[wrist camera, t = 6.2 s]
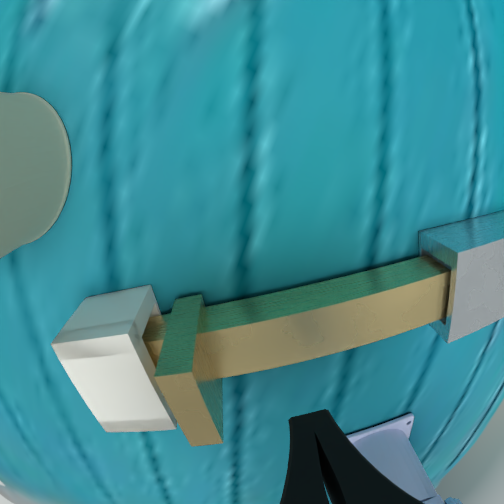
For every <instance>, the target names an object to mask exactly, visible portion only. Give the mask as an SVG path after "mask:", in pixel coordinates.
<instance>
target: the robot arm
mask: <svg viewBox="0 0 504 504" xmlns="http://www.w3.org/2000/svg"><path fill="white" fill-rule="evenodd" d="M413 421H414V415H413V414H412V413H410V414H407V415H405V416H402V417H400V418H397V419H394V420H392V421H389V422H386V423H383V424H381V425H378V426H375V427H372V428H369V429H366V430H363V431H360V432H357V433H353V434H350V435H347V436H345V434H344V433H343V432H342V430H341V429H340V428H339V426H338V425H337V423H336V422H335V420H334V419H333V417H332V416H331V414H330V412H329V410H326V409H324V410H320V411H316V412H312V413H308V414H304V415H300V416H295V417H291V418H290V419H289V426H290V452H289V461H288V469H287V475H286V480H285V485H284V489H283V494H282V498H281V501H280V504H329V501H328V498H327V495H326V491H325V488H324V484H325V487H326V489H327V492H328V495H329V497H330V500H331V502H332V504H444V502H445V504H462V503H461V501H460V500H459V499H455V498H454V499H453V498H451V497H449V498H447V499H446V500H445V501H444V502H443V500H442V498H441V496H440V495H437V493H436V491H435V489H434V487H433V485H432V483H431V481H430V479H429V477H428V475H427V474H426V472H425V470H424V468H423V466H422V464H421V462H420V460H419V458H418V457H417V455H416V453H415V451H414V449H413V447H412V445H411V444H410V442H409V440H408V439H409V436H410V432H411V428H412V424H413ZM323 482H324V483H323Z"/></svg>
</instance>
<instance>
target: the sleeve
mask: <svg viewBox="0 0 504 504" xmlns="http://www.w3.org/2000/svg"><path fill="white" fill-rule="evenodd" d="M425 255H428V256H430V257H432V258H433V259H435V260H436V261H438V262H439V263H441V264H442V265H444V266H445V267H447V268H448V269H450V270H451V281H450V292H449V302H448V310H447V317H444V318H442V319H439V320H437V321H434V322H431V323H428V324H429V325H430V326H431V327H432V328H433V329H434V330H435V331H436V332H437V333H438V334H439V335H440V336H441V337H442V338H443V339H444V340H445V341H446V343H447V344H448V343H450V342H452V341H455V340H457V339H459V338H462V337H464V336H466V335H468V334H470V333H472V332H475V331H477V330H479V329H481V328H483V327H485V326H487V325H489V324H491V323H493V322H495V321H497V320H499V319H501V318H503V317H504V211H500V212H496V213H492V214H488V215H484V216H480V217H476V218H472V219H467V220H463V221H459V222H455V223H451V224H447V225H443V226H438V227H434V228H430V229H426V230H422V231H419V257H421V256H425Z"/></svg>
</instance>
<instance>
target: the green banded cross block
mask: <svg viewBox="0 0 504 504" xmlns="http://www.w3.org/2000/svg"><path fill="white" fill-rule="evenodd" d="M450 281H451V270H450V269H448V268H447V267H445V266H444V265H442V264H441V263H439V262H438V261H436V260H435V259H433V258H432V257H430V256H428V255H425V256H421V257H418V258H414V259H410V260H406V261H403V262H399V263H395V264H391V265H388V266H384V267H380V268H376V269H372V270H368V271H364V272H360V273H356V274H352V275H348V276H344V277H340V278H336V279H332V280H327V281H323V282H319V283H315V284H310V285H306V286H302V287H297V288H293V289H288V290H284V291H279V292H275V293H270V294H266V295H261V296H256V297H252V298H247V299H242V300H237V301H232V302H228V303H223V304H218V305H213V306H208V307H205V304H204V301H203V297H202V294H200V295H195V296H190V297H185V298H180V299H175V302H174V305H173V309H172V312H171V314H165V315H160V316H154V317H149V320H148V322H147V325H146V327H145V330H144V333H143V335H142V339H143V341H144V344H145V346H146V348H147V350H148V353H149V355H150V357H151V359H152V362H153V364H154V366H155V368H156V371H155V375H154V378H155V380H156V382H157V384H158V386H159V388H160V390H161V392H162V394H163V396H164V398H165V400H166V402H167V404H168V405H169V407H170V409H171V411H172V413H173V415H174V417H175V418H176V420H177V422H178V424H179V426H180V427H181V429H182V431H183V433H184V434H185V436H186V438H187V439H188V441H189V443H190V445H191V446H202V445H211V444H219V443H223V409H222V378H224V377H230V376H236V375H241V374H247V373H252V372H257V371H262V370H267V369H271V368H276V367H281V366H285V365H290V364H294V363H298V362H302V361H306V360H311V359H315V358H319V357H322V356H326V355H330V354H334V353H337V352H341V351H345V350H348V349H352V348H355V347H359V346H362V345H365V344H369V343H372V342H375V341H378V340H382V339H385V338H388V337H391V336H394V335H397V334H400V333H403V332H406V331H409V330H412V329H415V328H417V327H420V326H423V325H426V324H428V323H431V322H434V321H437V320H439V319H442V318H444V317H447V310H448V302H449V292H450Z"/></svg>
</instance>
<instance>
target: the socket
mask: <svg viewBox="0 0 504 504" xmlns="http://www.w3.org/2000/svg"><path fill="white" fill-rule="evenodd" d="M160 315H161V312H160V309H159V306H158V304H157V301H156V298H155V295H154V292H153V289H152V287H151V285H146V286H141V287H136V288H131V289H126V290H121V291H116V292H111V293H106V294H101V295H96V296H91V297H86V298H85V299H84V301H83V302H82V303H81V304H80V306H79V307H78V308H77V310H76V311H75V312H74V313H73V315H72V316H71V317H70V319H69V320H68V321H67V323H66V324H65V325H64V327H63V328H62V329H61V331H60V332H59V333H58V335H57V336H56V337H55V339H54V340H53V342H52V343H51V345H52V347H53V349H54V351H55V353H56V355H57V356H58V358H59V360H60V362H61V364H62V365H63V367H64V369H65V370H66V372H67V374H68V376H69V377H70V379H71V381H72V382H73V384H74V385H75V387H76V389H77V390H78V392H79V393H80V395H81V396H82V398H83V399H84V401H85V402H86V404H87V405H88V407H89V408H90V410H91V411H92V413H93V414H94V416H95V417H96V419H97V420H98V421H99V423H100V424H101V426H102V427H103V428H104V430H105V431H106V432H139V431H158V430H172V429H176V427H177V420H176V418H175V417H174V415H173V413H172V411H171V409H170V407H169V405H168V404H167V402H166V400H165V398H164V396H163V394H162V392H161V390H160V388H159V386H158V384H157V382H156V380H155V378H154V375H155V371H156V368H155V366H154V364H153V362H152V359H151V357H150V355H149V353H148V350H147V348H146V346H145V344H144V341H143V339H142V335H143V333H144V330H145V327H146V325H147V322H148V320H149V317H154V316H160Z"/></svg>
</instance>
